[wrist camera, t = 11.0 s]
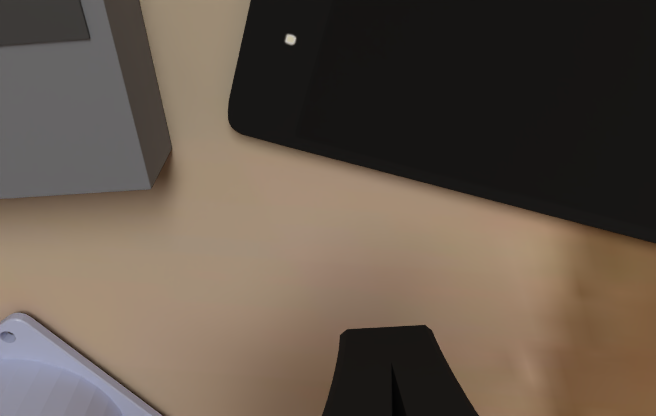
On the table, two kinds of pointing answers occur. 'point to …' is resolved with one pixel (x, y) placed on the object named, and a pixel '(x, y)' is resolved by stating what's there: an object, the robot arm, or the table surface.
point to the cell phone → (467, 97)
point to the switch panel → (77, 99)
